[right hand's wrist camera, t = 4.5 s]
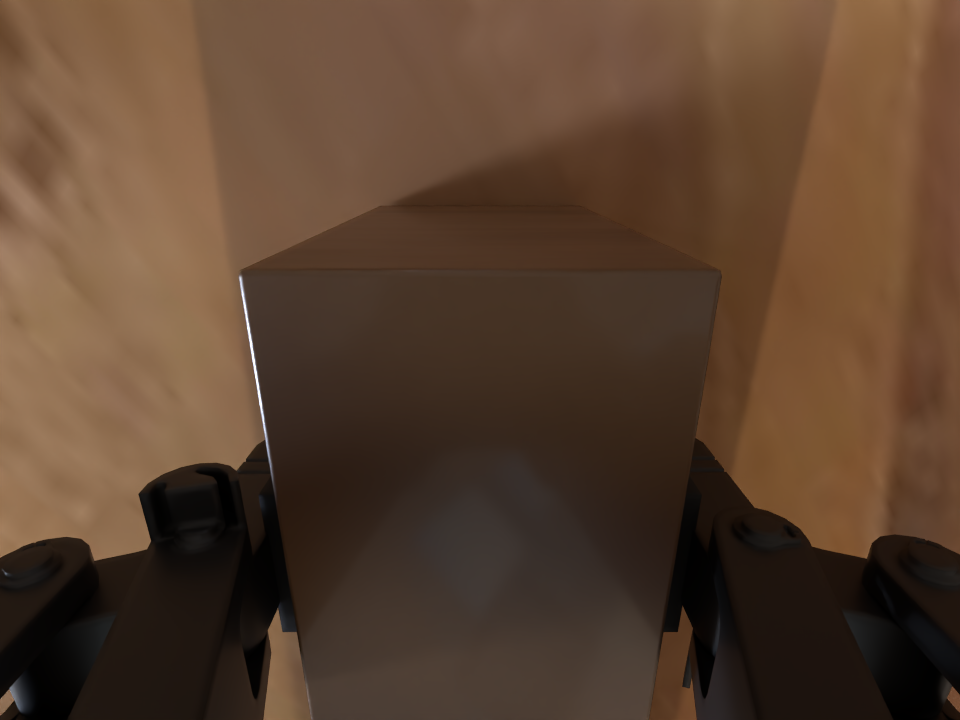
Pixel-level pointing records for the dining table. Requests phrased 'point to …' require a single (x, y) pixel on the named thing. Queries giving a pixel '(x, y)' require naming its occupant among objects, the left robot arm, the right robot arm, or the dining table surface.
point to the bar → (480, 456)
